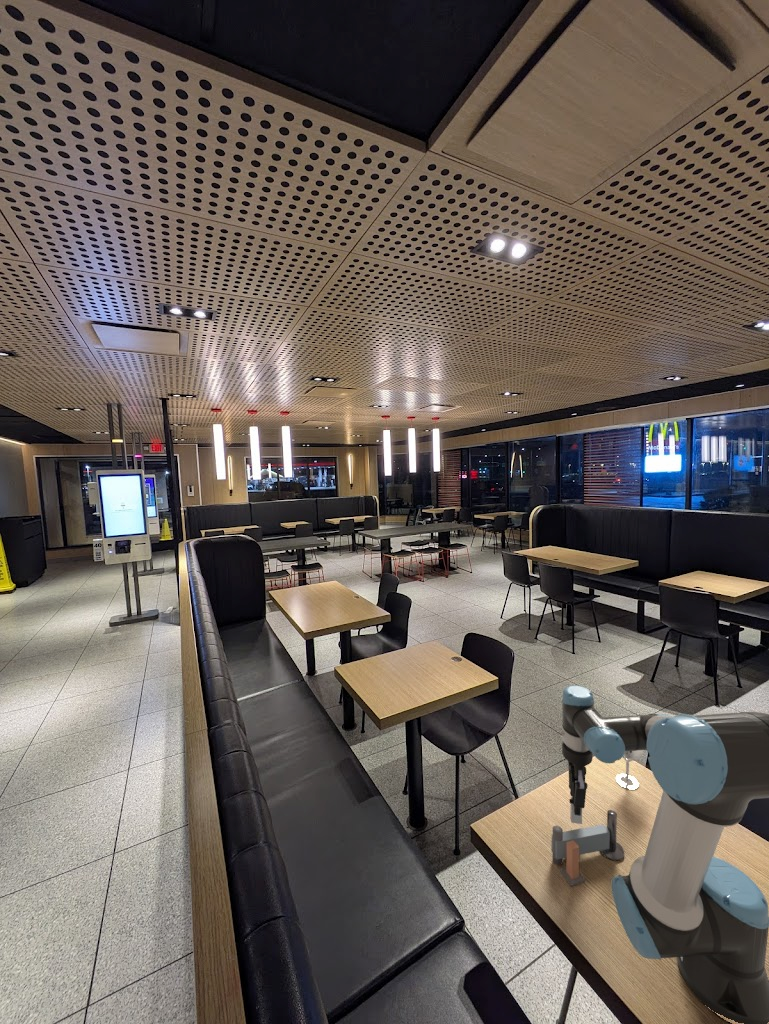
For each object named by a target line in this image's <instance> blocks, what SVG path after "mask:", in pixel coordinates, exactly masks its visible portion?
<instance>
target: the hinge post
mask: <svg viewBox="0 0 769 1024" xmlns="http://www.w3.org/2000/svg"><path fill="white" fill-rule="evenodd" d="M606 812H607V813H606V815H607V816H606V817H607V819H606V828H607V829H608V830H609V832H610V842H609V849H606V850H601V851H599V852H600V853H601V854H602V855H603V857H605V858H607V859H609V861H613V862H620V861H622V860H623V859H624V858H625V850H624V848H623V847H622V845H621V844H620V843H619V842H617V829H618V828H617V826H618V825H617V823H618V820H617V819H618V813H617V812H616V811H614V810H612V809H608V810H607V811H606Z"/></svg>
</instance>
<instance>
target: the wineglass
mask: <svg viewBox="0 0 769 1024" xmlns="http://www.w3.org/2000/svg"><path fill="white" fill-rule="evenodd" d="M643 754H644V750H637V751H625V753H624V755H623V757H622V758H621V759H624V760H625V773H620V774H617V775H616V776H615V781H616V782H617V784H618V785H619V786H620V787H622V788H624V789H626V790H629V791H630V790H631V791H634V790H637V789H638V788H639V787H640V786H639V784H640V783H639V782H638V780H637V779H636V778H635V777H634V776H631V775H630V763H631V762H633V761H637V760H639V759H640V758H641V757H642V756H643Z"/></svg>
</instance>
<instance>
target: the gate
mask: <svg viewBox="0 0 769 1024" xmlns="http://www.w3.org/2000/svg"><path fill="white" fill-rule="evenodd" d="M572 840H574V842H575V843H576V844H577V845H578V846H579V856H580V855H581V856H582V855H586V854H590V853H596V852H600V851H601V850H606V849H609V842H610V832H609V830H608V829H607V826H606V825H605V824H604V823H603V824H598V825H597V824H596V825H593V826H592V825H591V826H587V827H583V828H582V827H581V828H576V829H573V830H572V829H570V830H566V831H564V830H563V828H562V827H561V826H559V825H553V827H552V833H551V841H550V842H551V849H550V850H551V853H552V862H554V864H556V865H558V866H559V865H562V864H563V859H565V860H566V861H567V842H570V841H572Z"/></svg>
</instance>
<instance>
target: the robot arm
mask: <svg viewBox="0 0 769 1024" xmlns="http://www.w3.org/2000/svg"><path fill="white" fill-rule="evenodd" d="M594 700H595V699H594V693H593V692H592V690H590V689H588V688H586V687H584V686H581V685H568V686H566V687H565V688H564V689H563V691H562V700H561V705H562V711H561V712H562V714H561V715H562V718H561V719H562V727H561V728H562V730H559V732H560V735H562V737H561V738H562V742H561V753H562V756H563V758H564V759H565V760H566V761H567V763H568V764H567V765H568V766H567V767H568V788H569V790H570V791H569V795H570V798H569V799H568V800H569V804H570V809H569V813H570V814H569V815H570V822H571V823H572V824H579V825H582V824H583V809H585V807H586V806H585V805H586V798H587V797H586V796H587V789H588V783H587V782H586V775H587V766H588V765H590V764H591V763H592V762H593V756H594V757H595V759H596V760H598V761H600V762H602V763H604V764H615V763H616V761H620V760H621V759H623V758H622V757H623V755H624V753H625V751H637V750H643V751H647V752H648V755H649V756H648V757H647V760H648V764H649V767H650V770H651V772H652V775H653V777H654V778H655V780H656V782H657V783H658V785H659V786H660V788H661V789H662V794H661V798H660V801H659V805H658V808H657V812H656V814H655V818H654V822H653V826H652V829H651V832H650V836H649V839H648V842H647V847H646V850H645V854H644V855H641V856H640V857H637V858H635V860H634V861H633V862H632V864H631V866H630V870H629V874H628V875H622V874H619V875H617V876H614V877H612V879H611V881H610V882H611V883H610V886H611V893H612V897H613V902H614V904H615V908H616V911H617V914H618V918H619V920H620V922H621V925H622V927H623V929H624V932H625V934H626V936H627V937H628V939H629V941H630V944H631V945H632V946H633V948H634V949H635V951H636V952H637V954H639V955H640V956H641V957H643V958H645V959H647V960H659V961H662V959H669V958H670V959H671V958H676V961H677V966H678V969H679V971H680V974H681V976H682V978H683V980H684V981H685V984H686V985H687V986H688V989H690V990H691V992H692V993H693V995H694V996H695V997H696V998H697V999H698V1000H699V1001H700V1002H701V1003H702V1004H703V1006H705V1005H706V1006H707V1007H709V1008H710V1009H711V1010H713V1011H714V1012H716V1013H718V1014H720V1015H723V1016H724V1017H726V1018H728V1019H731V1020H734V1021H735V1022H738V1023H744V1024H767V1023H768V1022H769V977H768V974H767V970H766V968H765V966H766V956H767V944H768V935H769V905H768V901H767V899H766V897H765V895H764V893H763V892H762V890H761V888H760V887H759V886H758V885H757V883H755V881H754V880H753V879H752V878H751V877H750V876H748V875H747V873H745V872H744V871H743V870H741V869H740V868H739V867H737V866H736V865H733V864H731V863H729V862H728V861H726V860H724V859H721V858H720V857H716V856H714V855H715V852H716V850H717V847H718V845H719V842H720V840H721V837H722V834H723V831H724V828H725V827H726V828H727V827H732V826H736V825H737V824H738V823H740V822H741V821H742V820H743V818H744V815H745V813H746V811H747V808H748V806H749V802H751V801H753V800H758V799H769V713H764V712H758V711H741V712H729V713H727V712H726V713H714V714H701V715H699V714H698V715H697V714H696V715H691V714H677V715H675V716H670V715H667V714H663V713H662V714H661V713H660V714H659V713H649V714H641V715H640V714H639V715H628V716H627V715H622V716H608V717H603V716H602V715H601V713H600V712H599V711H597V709H596V708H595V706H594V704H595V701H594ZM706 1006H705V1007H706ZM707 1007H706V1008H707Z"/></svg>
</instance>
